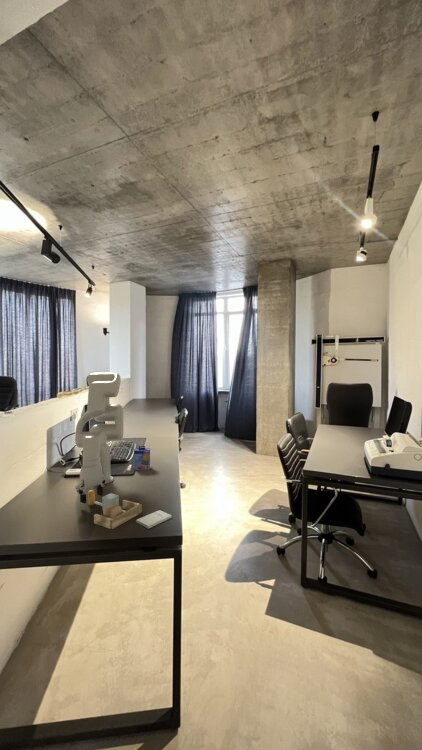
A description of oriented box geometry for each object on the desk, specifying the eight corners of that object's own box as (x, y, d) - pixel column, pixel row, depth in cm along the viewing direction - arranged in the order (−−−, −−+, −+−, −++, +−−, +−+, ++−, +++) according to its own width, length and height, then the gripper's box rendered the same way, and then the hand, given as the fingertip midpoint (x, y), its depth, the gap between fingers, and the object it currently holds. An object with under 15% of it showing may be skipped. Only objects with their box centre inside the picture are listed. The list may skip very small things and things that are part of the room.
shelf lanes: (94, 523, 135) (93, 514, 134) (124, 507, 150) (124, 499, 150) (112, 529, 130) (112, 520, 130) (141, 512, 145) (141, 504, 145)
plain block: (103, 523, 135) (103, 508, 135) (112, 518, 139) (112, 504, 139) (112, 526, 133) (112, 511, 132) (121, 520, 137) (121, 506, 137)
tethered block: (85, 505, 152) (84, 492, 152) (93, 501, 156) (93, 488, 156) (110, 512, 144) (110, 499, 144) (118, 508, 149) (118, 495, 148)
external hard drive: (135, 523, 136) (159, 513, 145) (148, 529, 130) (171, 518, 140) (135, 519, 136) (159, 509, 145) (148, 525, 130) (171, 514, 140)
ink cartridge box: (133, 470, 202) (133, 447, 201) (133, 467, 207) (133, 444, 207) (150, 469, 204) (150, 446, 204) (149, 466, 210) (149, 444, 209)
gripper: (100, 456, 162) (100, 491, 162) (70, 465, 147) (70, 504, 147) (111, 458, 158) (111, 493, 159) (81, 468, 143) (82, 507, 144)
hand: (91, 498), depth 153 cm, fingers open, 9 cm apart
